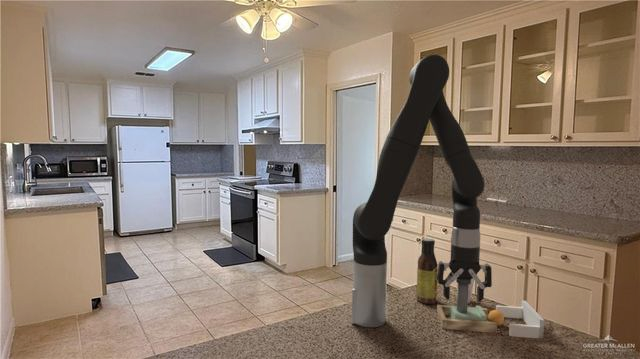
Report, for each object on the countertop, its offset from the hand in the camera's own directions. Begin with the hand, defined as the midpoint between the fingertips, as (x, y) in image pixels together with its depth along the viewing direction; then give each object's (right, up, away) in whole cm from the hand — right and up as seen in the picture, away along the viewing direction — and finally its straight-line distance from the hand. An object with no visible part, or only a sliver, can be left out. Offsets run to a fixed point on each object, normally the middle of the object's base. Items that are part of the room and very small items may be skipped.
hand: (463, 299), depth 110 cm
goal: (+15, -7, -2) cm, 16 cm away
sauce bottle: (-6, -5, +15) cm, 17 cm away
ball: (+9, -5, -1) cm, 10 cm away
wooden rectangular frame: (+1, -6, 0) cm, 7 cm away
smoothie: (+6, -5, +16) cm, 18 cm away
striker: (+1, -6, 0) cm, 6 cm away
